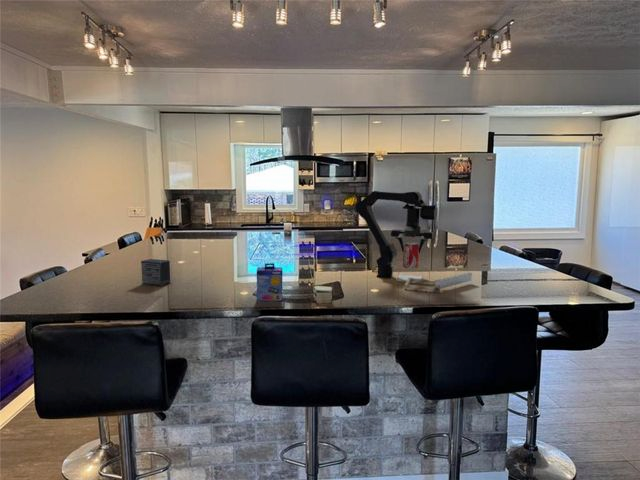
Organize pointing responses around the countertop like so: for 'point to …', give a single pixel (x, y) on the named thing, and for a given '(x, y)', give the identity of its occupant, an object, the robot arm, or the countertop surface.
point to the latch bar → (453, 280)
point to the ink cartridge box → (269, 283)
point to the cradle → (420, 288)
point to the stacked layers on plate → (323, 294)
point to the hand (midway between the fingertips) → (411, 252)
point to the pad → (405, 277)
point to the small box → (155, 272)
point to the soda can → (411, 255)
